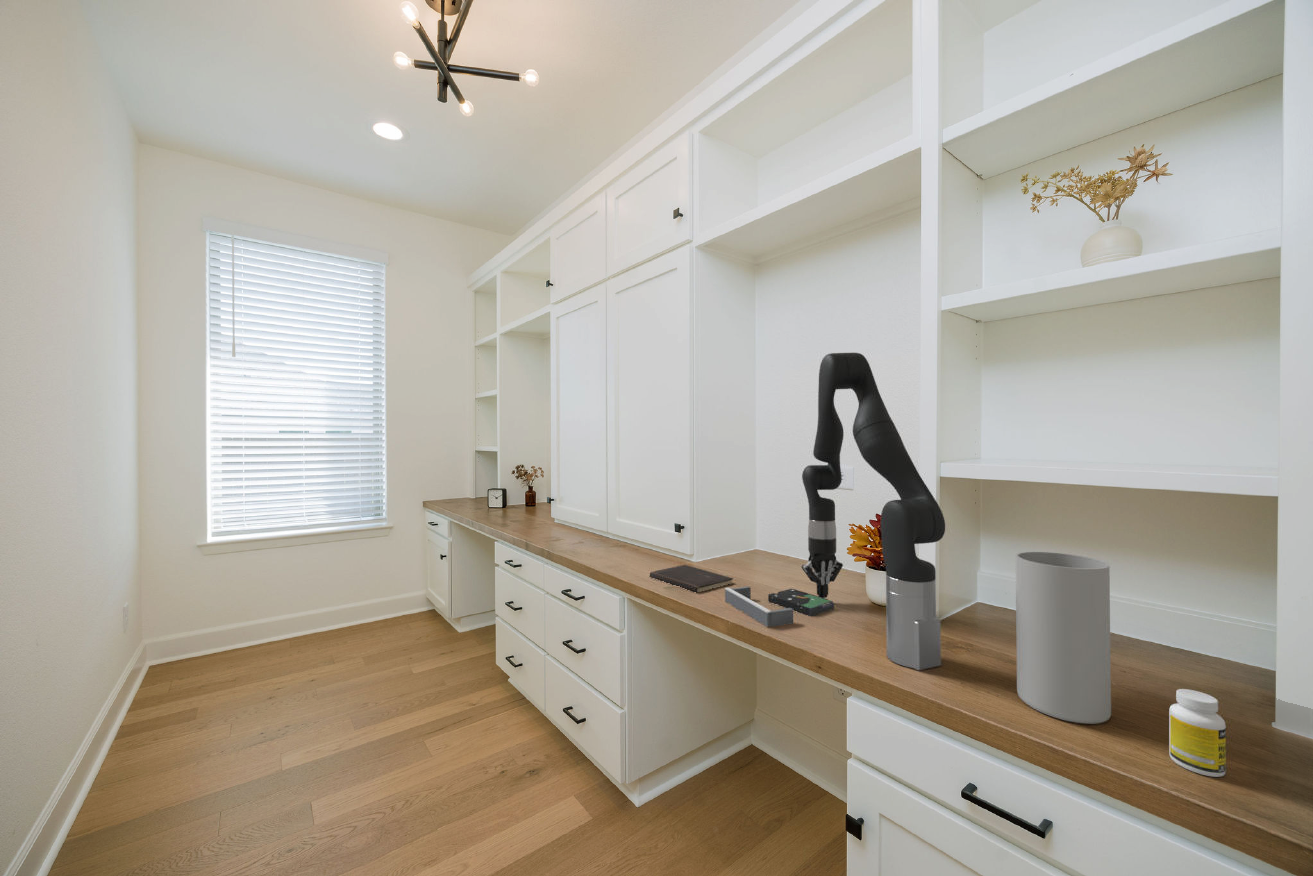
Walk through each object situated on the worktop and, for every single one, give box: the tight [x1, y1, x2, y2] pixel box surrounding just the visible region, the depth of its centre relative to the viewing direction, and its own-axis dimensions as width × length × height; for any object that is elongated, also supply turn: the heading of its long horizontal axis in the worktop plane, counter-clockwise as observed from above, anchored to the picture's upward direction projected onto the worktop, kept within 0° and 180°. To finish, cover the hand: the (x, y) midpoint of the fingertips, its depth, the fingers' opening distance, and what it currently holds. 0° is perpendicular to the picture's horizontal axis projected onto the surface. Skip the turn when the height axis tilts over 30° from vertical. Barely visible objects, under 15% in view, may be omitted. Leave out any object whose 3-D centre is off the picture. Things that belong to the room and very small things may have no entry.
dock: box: [724, 585, 794, 628], centre depth 134 cm, size 21×8×4 cm, turn 21°
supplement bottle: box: [1168, 688, 1227, 778], centre depth 70 cm, size 5×5×10 cm
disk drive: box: [767, 588, 835, 617], centre depth 139 cm, size 10×3×15 cm
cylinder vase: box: [1015, 551, 1112, 725], centre depth 86 cm, size 12×12×25 cm
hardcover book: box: [649, 564, 734, 594], centre depth 164 cm, size 16×23×2 cm
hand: (822, 597), depth 141 cm, fingers closed
